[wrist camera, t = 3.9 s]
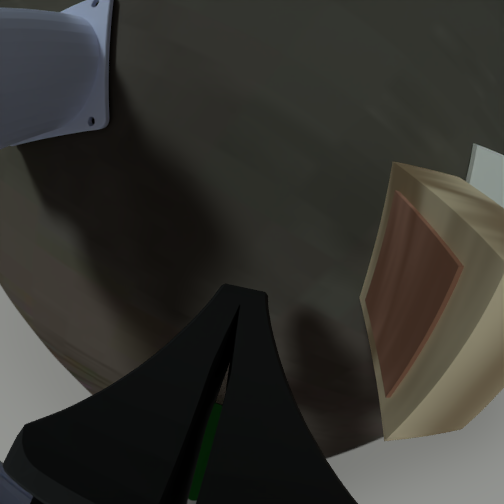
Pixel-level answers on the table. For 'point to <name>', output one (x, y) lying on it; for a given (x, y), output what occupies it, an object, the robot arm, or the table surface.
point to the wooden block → (435, 303)
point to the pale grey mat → (487, 173)
